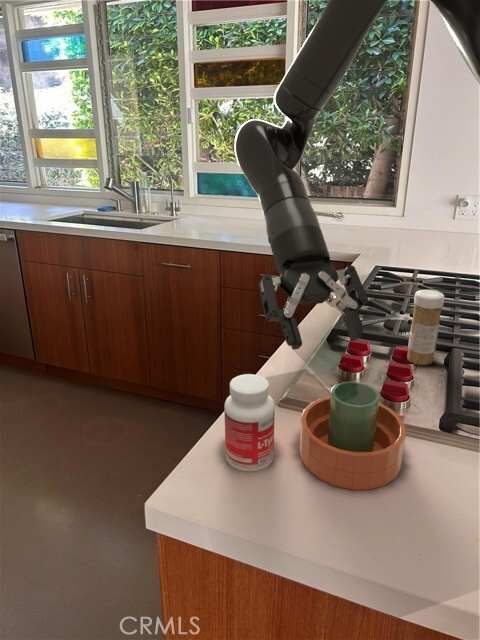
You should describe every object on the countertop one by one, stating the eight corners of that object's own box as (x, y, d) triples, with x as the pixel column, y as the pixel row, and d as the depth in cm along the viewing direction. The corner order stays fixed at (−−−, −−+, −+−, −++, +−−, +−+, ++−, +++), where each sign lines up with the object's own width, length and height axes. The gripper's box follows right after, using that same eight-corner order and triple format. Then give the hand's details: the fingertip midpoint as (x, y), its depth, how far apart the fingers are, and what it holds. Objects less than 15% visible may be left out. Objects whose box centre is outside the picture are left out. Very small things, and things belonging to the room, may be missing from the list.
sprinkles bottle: (409, 357, 84) (419, 287, 79) (435, 363, 82) (447, 291, 77) (401, 367, 81) (411, 294, 76) (428, 374, 78) (441, 299, 73)
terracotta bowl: (365, 422, 66) (369, 388, 64) (421, 480, 55) (428, 442, 53) (285, 439, 63) (286, 404, 61) (327, 504, 52) (330, 465, 50)
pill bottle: (263, 480, 55) (264, 401, 51) (217, 467, 58) (214, 390, 53) (280, 449, 61) (282, 375, 56) (237, 438, 63) (236, 366, 59)
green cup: (357, 436, 62) (363, 377, 58) (381, 464, 57) (389, 401, 53) (318, 445, 60) (322, 385, 57) (340, 474, 55) (345, 410, 52)
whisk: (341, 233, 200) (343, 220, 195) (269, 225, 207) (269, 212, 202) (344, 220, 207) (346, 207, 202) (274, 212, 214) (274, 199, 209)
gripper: (254, 226, 61) (285, 340, 55) (350, 219, 65) (389, 325, 59) (242, 256, 68) (269, 360, 62) (330, 247, 71) (363, 345, 66)
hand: (327, 343), depth 61 cm, fingers open, 8 cm apart
